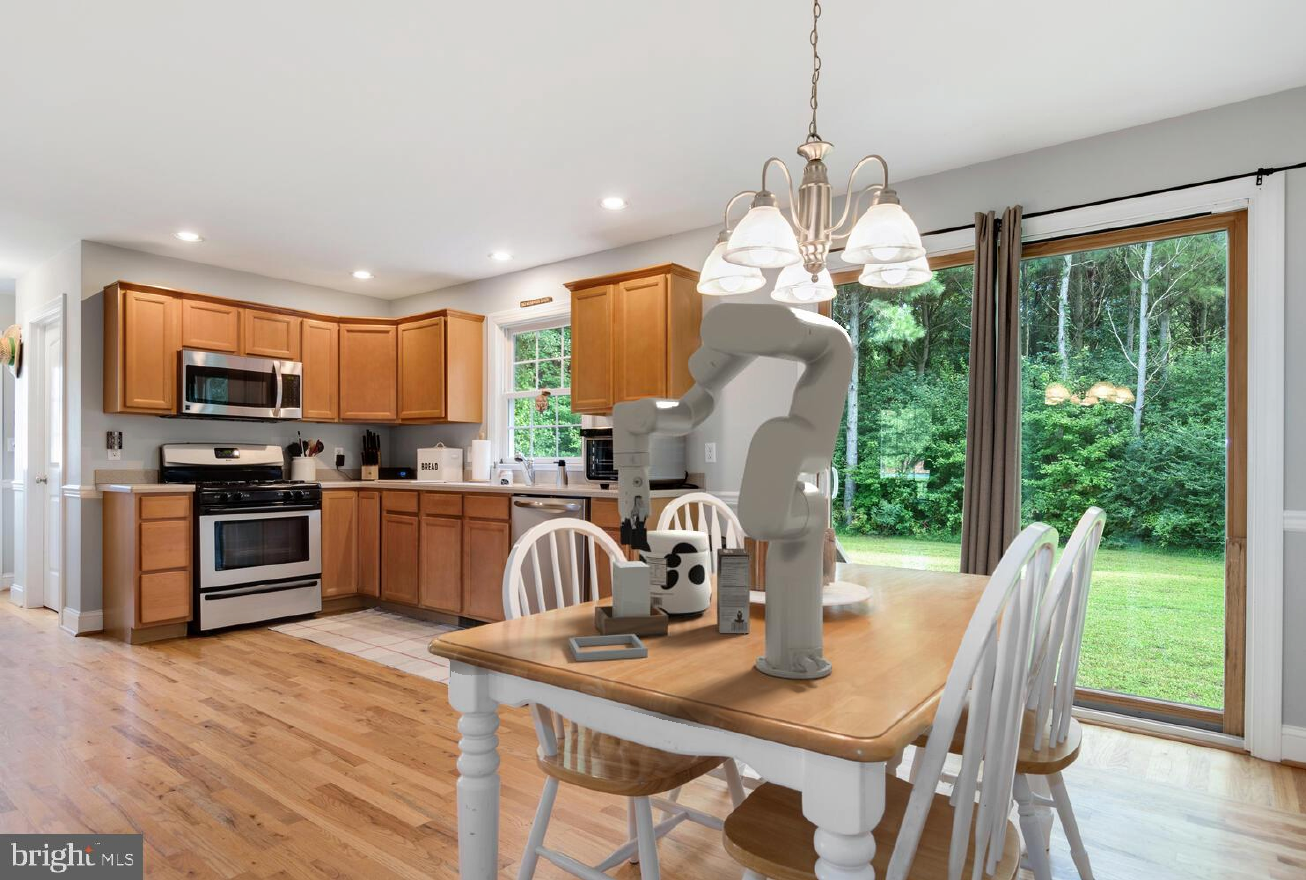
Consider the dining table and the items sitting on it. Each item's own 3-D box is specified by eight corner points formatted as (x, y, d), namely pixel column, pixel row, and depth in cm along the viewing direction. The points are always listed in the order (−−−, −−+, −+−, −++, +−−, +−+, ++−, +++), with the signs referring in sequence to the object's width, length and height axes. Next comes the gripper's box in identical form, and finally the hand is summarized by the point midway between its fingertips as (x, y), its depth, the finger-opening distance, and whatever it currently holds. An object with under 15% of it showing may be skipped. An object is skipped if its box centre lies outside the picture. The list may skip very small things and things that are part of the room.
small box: (650, 632, 147) (651, 566, 148) (619, 633, 146) (619, 567, 146) (641, 622, 155) (641, 560, 156) (611, 624, 154) (611, 561, 154)
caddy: (667, 636, 147) (668, 615, 147) (605, 639, 144) (605, 618, 144) (653, 622, 158) (653, 603, 158) (594, 625, 155) (595, 606, 155)
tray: (647, 656, 132) (647, 648, 132) (577, 661, 129) (577, 652, 129) (634, 641, 142) (634, 634, 142) (568, 645, 139) (568, 637, 139)
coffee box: (716, 623, 158) (716, 547, 158) (746, 623, 158) (746, 548, 158) (719, 634, 149) (719, 553, 149) (751, 634, 149) (751, 554, 149)
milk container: (703, 604, 177) (704, 529, 178) (718, 621, 160) (719, 537, 160) (631, 606, 175) (631, 529, 176) (638, 622, 158) (639, 538, 158)
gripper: (660, 461, 144) (662, 550, 143) (639, 462, 161) (641, 542, 160) (622, 462, 142) (624, 552, 141) (605, 463, 159) (607, 543, 158)
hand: (633, 546), depth 151 cm, fingers open, 9 cm apart
